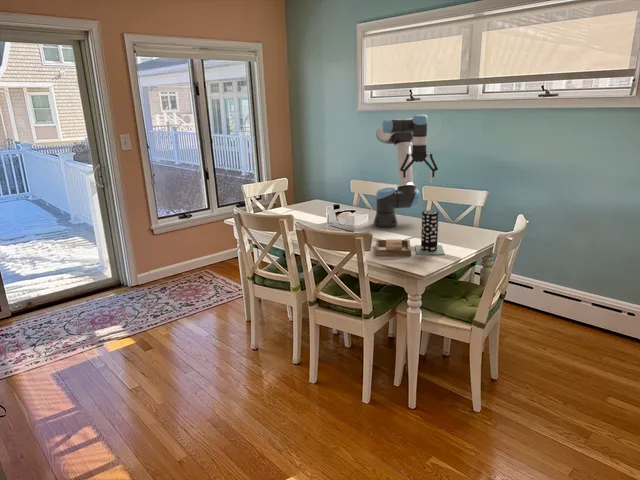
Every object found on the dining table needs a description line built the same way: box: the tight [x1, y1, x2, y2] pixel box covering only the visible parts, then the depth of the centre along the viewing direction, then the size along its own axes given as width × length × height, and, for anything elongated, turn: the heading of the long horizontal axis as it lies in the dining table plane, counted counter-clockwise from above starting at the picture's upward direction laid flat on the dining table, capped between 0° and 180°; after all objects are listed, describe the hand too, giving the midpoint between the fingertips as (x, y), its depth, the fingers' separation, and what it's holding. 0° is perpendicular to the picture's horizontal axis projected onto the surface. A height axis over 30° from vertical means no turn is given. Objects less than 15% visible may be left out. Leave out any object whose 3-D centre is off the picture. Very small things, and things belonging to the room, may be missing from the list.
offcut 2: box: [385, 246, 403, 250], centre depth 231 cm, size 5×8×2 cm, turn 87°
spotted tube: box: [420, 210, 440, 252], centre depth 231 cm, size 8×8×20 cm
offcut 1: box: [385, 238, 403, 248], centre depth 230 cm, size 5×8×2 cm, turn 82°
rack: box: [375, 239, 412, 257], centre depth 236 cm, size 18×18×3 cm
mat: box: [414, 244, 446, 256], centre depth 234 cm, size 14×14×1 cm
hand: (418, 183), depth 246 cm, fingers open, 13 cm apart
